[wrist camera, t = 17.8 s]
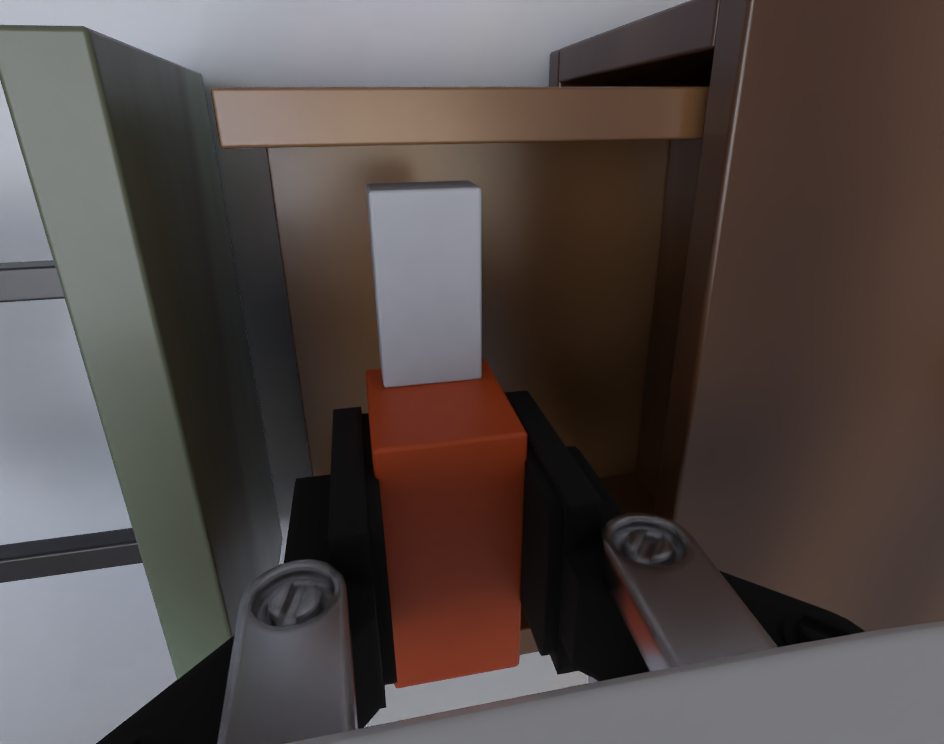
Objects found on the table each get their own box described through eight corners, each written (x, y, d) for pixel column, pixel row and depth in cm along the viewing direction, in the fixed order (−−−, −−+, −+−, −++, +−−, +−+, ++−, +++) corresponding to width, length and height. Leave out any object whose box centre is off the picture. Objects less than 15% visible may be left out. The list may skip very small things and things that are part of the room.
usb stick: (486, 558, 14) (520, 667, 11) (384, 573, 13) (394, 690, 11) (487, 179, 10) (537, 205, 7) (347, 184, 10) (349, 213, 7)
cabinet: (534, 501, 21) (645, 713, 14) (549, 51, 16) (753, -25, 8) (871, 454, 24) (1125, 609, 16) (987, 56, 18) (1460, 1, 11)
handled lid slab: (-27, 582, 17) (-233, 835, 11) (-255, 72, 12) (-888, 9, 6) (635, 489, 21) (758, 637, 15) (682, 74, 16) (901, 37, 10)
